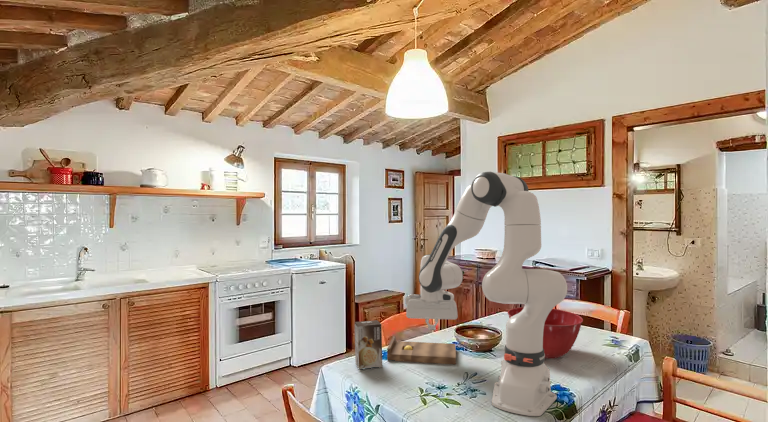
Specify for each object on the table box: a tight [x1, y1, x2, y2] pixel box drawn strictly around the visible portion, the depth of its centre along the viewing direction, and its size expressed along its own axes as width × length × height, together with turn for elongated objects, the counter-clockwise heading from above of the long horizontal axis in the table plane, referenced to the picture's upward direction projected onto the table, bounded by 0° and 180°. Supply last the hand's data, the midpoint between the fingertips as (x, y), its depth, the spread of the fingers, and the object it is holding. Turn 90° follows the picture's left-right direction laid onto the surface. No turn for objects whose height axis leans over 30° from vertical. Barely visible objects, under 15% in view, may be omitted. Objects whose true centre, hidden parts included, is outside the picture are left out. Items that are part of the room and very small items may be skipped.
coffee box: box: [354, 320, 383, 370], centre depth 151 cm, size 9×6×16 cm
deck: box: [386, 335, 457, 365], centre depth 162 cm, size 26×16×4 cm, turn 80°
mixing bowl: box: [507, 306, 584, 360], centre depth 164 cm, size 28×28×16 cm
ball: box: [404, 345, 413, 350], centre depth 163 cm, size 4×4×4 cm
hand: (431, 330), depth 160 cm, fingers closed
